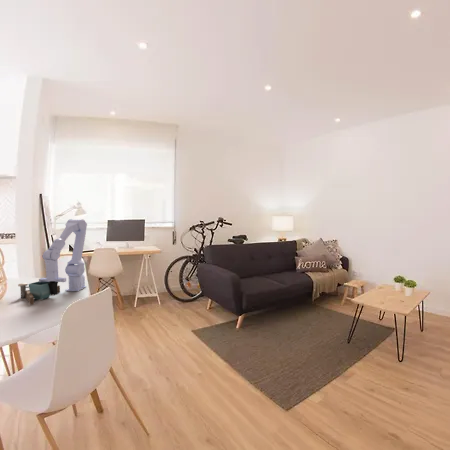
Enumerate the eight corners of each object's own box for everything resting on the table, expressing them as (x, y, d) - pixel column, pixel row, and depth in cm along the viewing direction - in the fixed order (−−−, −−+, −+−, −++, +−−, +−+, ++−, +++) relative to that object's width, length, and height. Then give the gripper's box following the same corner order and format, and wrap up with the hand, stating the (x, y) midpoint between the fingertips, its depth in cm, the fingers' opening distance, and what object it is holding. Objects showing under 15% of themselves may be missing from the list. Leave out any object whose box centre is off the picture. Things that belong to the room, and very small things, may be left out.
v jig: (34, 291, 165) (34, 278, 165) (61, 291, 165) (60, 279, 164) (2, 304, 142) (1, 289, 142) (32, 305, 142) (31, 290, 141)
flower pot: (54, 296, 156) (54, 281, 155) (41, 301, 147) (40, 285, 147) (42, 295, 158) (42, 280, 157) (28, 300, 149) (27, 284, 149)
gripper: (34, 272, 149) (35, 296, 150) (60, 272, 149) (61, 296, 150) (43, 269, 156) (44, 292, 157) (68, 269, 156) (69, 292, 157)
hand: (53, 294), depth 154 cm, fingers closed, pressing on flower pot
